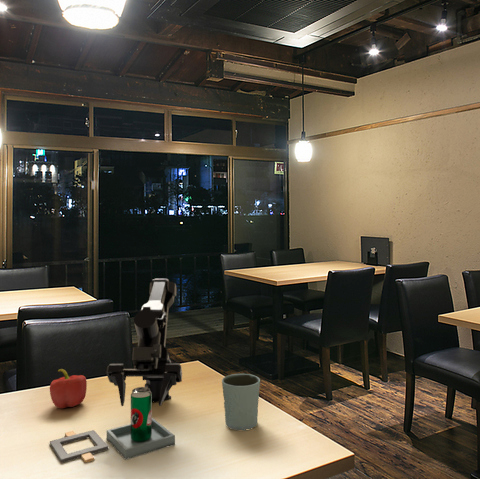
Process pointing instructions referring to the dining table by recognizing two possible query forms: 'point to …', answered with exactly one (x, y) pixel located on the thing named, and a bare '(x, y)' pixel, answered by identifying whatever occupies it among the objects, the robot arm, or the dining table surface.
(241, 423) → the grey-green cup
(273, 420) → the dining table surface
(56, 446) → the grey rectangular frame
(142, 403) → the soda can
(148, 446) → the parts tray
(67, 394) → the vegetable
